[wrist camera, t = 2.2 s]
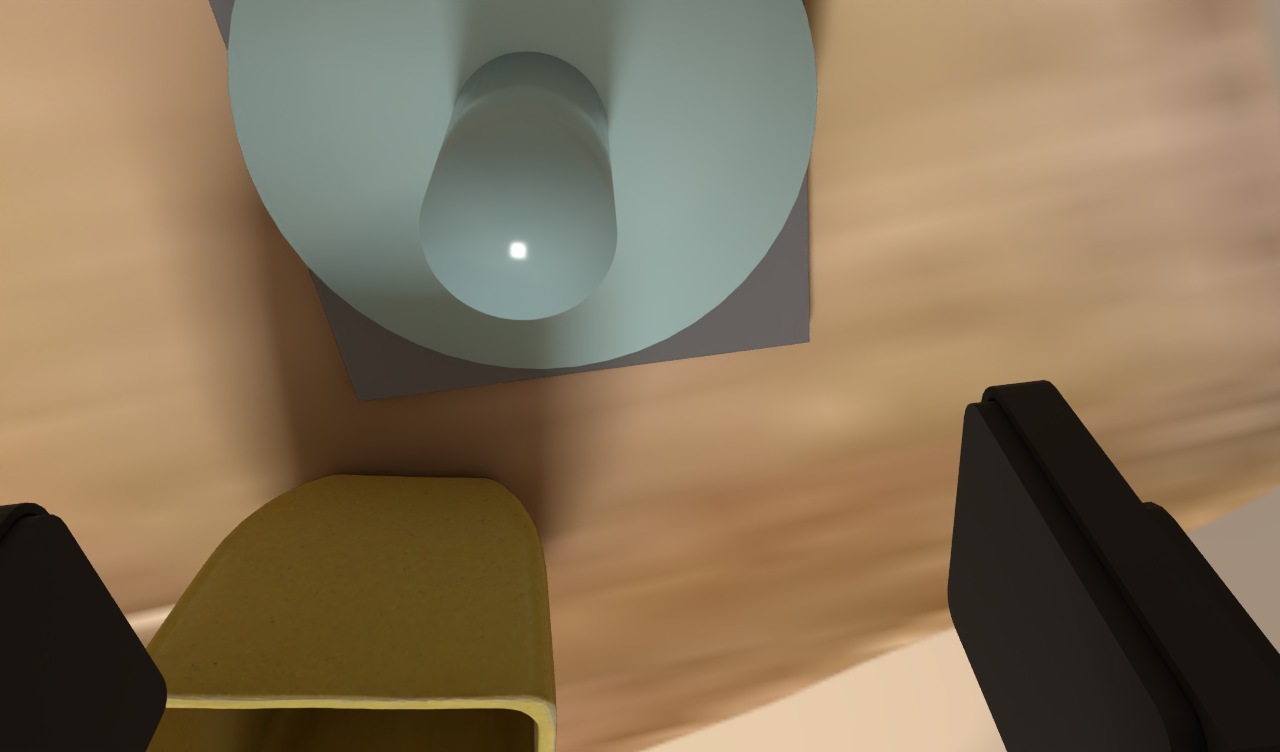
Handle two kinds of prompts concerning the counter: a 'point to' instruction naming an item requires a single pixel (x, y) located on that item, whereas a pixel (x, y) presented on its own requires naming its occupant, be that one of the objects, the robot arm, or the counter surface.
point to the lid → (526, 160)
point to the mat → (743, 321)
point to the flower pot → (365, 626)
